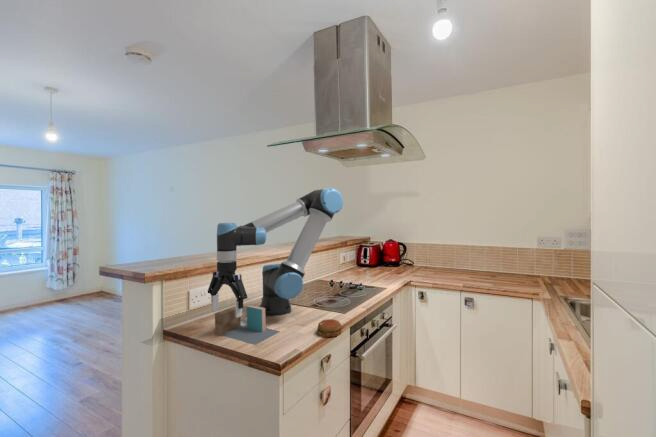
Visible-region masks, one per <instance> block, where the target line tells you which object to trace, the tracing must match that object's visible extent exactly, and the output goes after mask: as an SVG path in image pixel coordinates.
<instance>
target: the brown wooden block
mask: <svg viewBox="0 0 656 437" xmlns="http://www.w3.org/2000/svg"><path fill="white" fill-rule="evenodd" d="M241 317H242V316H240V317H236V306H232V307H229V308H226V309H223V310H221V311H217V312H215V313H214V331H215V332H214V333H215V335H218V336H221V335H223V334H226V333H228V332H230V331H232V330H235V329H237V328H239V327H245V326H247V317H245V318H243V319H241Z"/></svg>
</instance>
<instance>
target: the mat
mask: <svg viewBox="0 0 656 437" xmlns="http://www.w3.org/2000/svg"><path fill="white" fill-rule="evenodd" d="M280 332H281V331H280V330H275V329H272V328H267V327H266V330H265V331H263V332H260V331H256V330H251V329H247V326H245V327H239V328H237V329H235V330H232V331H230V332H228V333H226V334H223V335H220V336H222V337H225V338H229V339H232V340H237V341H241V342H244V343H247V344H251V345H258V344H260V343H262V342H264V341H266V340H268V339H269V338H272V337H273V336H275V335H276V334H279V333H280ZM214 334H215V332H214ZM215 335H216V334H215Z"/></svg>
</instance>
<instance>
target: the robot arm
mask: <svg viewBox="0 0 656 437" xmlns="http://www.w3.org/2000/svg"><path fill="white" fill-rule="evenodd" d="M343 206H344V199H343V196H342V194H341V193H340V191H339V190H337V189H335V188H331V187H326V188H324V189H323V188H322V189H316V190H313V191H310V192H309V193H307V194H305V195H303V196H302V197H299V198H297V199H296V201H295V202H293V203H290V204H288V205H286V206H283V207H281V208H280V209H278V210H274V211H272V212H270V213H268V214H266V215H264V216H261V217H259V218H256V219H255V220H252V221H251V222H249V223H246V224H243V225H239V226H238V225H237V223H236V222H219V223H218V224H217V225H216V226H217V227H216V261H217V262H216V271H212V276H211V277H212V278H211V280H210V283H209V286H208V289H207V294H210V297H211V299H210V300H211V301H210V302H211V312H212V313H213V312H215V313H216V312H219V310H220V309H219V308H220V307H219V306H220V305H219V303H220V302H219V300H220V298H219V296H220V295H219V291H220V290H221V288H222V287H223V285H225V286H228V287H229V288H230V289H231V291H232V293H233V294H234V296H235V298H236V300H235V307H236V317H240V316H241V317H242V316H243V308H244V300H246V299H248V294H247V291H246V288H245V285H244V282H243V279H242V274H240V273H239V274H236V271H237V261H236V260H237V250H238V249H237V247H241V246H262V245H264V244H266V241H267V233H270V232H271V231H274V230H275V229H277V228H279V227H282V226H284V225H285V224H288V223H291V222H293V221H294V220H297V219H299V218H300V217H308V218H307V220H306V222H305V223H304V226H303V228H302V229H301V231H300V233H299V235H298V237H297V239H296V241H295V244H294V245H293V247H292V249H291V250H290V253H289V255H288V257H287V258H286V260H285V261H282V262H281V263H273V264H272V263H271V264H266V265H264V266H262V271H261V275H262V298H261V302H260V305H259V307H262V308H265V317H280V316H283V315H287V314H291V312H292V304H291V301H290V300H291V299H294V298H296V297H297V296H299V295H300V294H301V293H302V290H303V288H304V281H303V279H304V277H305V275H306V273H305V267H306V265H307V264H308V261H309V259H310V257H311V255H312V253H313V251H314V249H315V246H316V244H317V242H318V241H319V238H320V236H321V234H322V232H323V231H324V228H325V226H326V224H327V223H328V222H329V223H330V222H331V221H332V219H333V218H334V215H335V214H337V213H339V212H340V211H341V209H342V208H343Z"/></svg>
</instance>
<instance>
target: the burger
mask: <svg viewBox="0 0 656 437" xmlns="http://www.w3.org/2000/svg"><path fill="white" fill-rule="evenodd" d="M316 330H317V335H318V336H320V337H323V338H331V337H332V338H333V337H334V338H335V337H338V336H340V335H342V333H343V330H342V324H341V323H340V321H339V320H338V319H329V318H328V319H323V320H322V321H319V323H318V325H317V328H316Z"/></svg>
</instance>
